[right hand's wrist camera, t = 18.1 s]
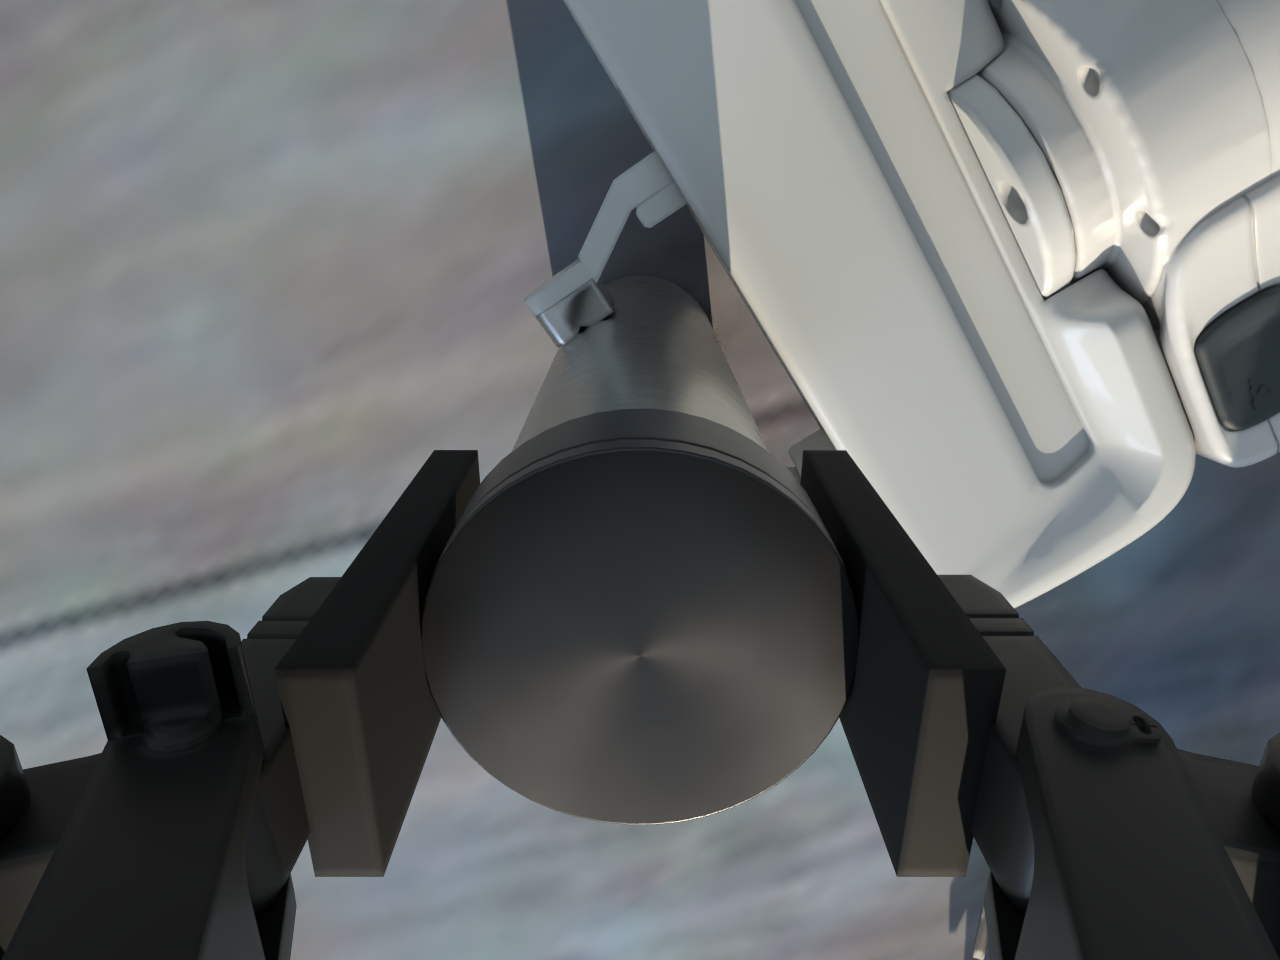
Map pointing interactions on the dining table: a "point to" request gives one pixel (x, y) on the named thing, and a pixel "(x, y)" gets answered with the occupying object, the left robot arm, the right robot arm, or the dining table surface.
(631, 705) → the lid
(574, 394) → the silver metal canister
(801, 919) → the dining table surface
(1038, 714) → the right robot arm
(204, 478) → the dining table surface
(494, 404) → the dining table surface
